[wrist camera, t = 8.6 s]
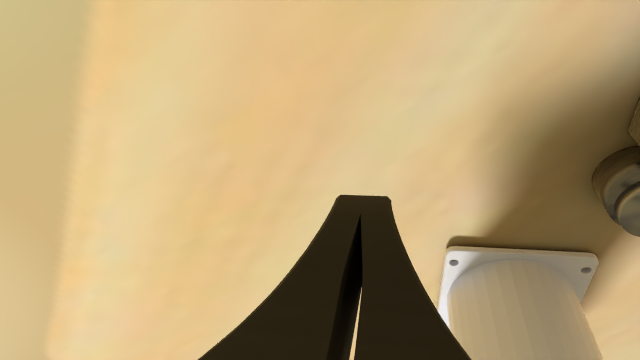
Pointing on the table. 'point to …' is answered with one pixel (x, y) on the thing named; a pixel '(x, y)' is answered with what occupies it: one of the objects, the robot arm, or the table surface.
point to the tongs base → (616, 177)
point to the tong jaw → (630, 190)
